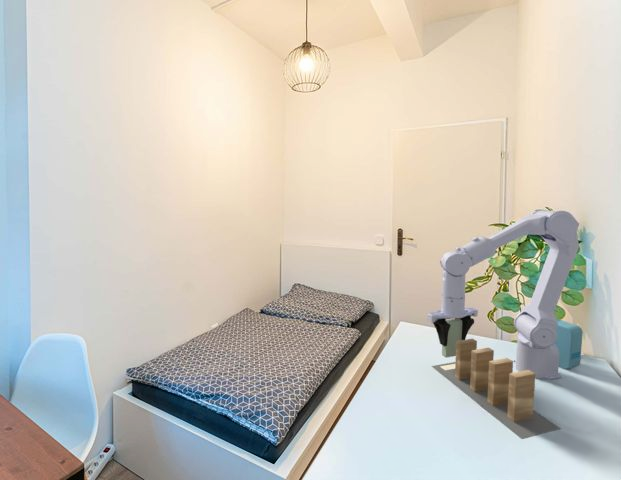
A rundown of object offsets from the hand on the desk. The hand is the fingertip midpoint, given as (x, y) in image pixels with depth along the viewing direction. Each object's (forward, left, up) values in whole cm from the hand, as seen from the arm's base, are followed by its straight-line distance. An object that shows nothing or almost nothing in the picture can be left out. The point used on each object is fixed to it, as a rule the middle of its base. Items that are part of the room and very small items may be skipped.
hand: (451, 343), depth 89 cm
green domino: (0, 0, -3) cm, 3 cm away
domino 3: (0, +17, -7) cm, 18 cm away
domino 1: (0, +6, -7) cm, 9 cm away
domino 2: (0, +11, -7) cm, 13 cm away
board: (0, +13, -8) cm, 15 cm away
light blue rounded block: (-31, +4, -8) cm, 32 cm away
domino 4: (0, +22, -7) cm, 23 cm away
